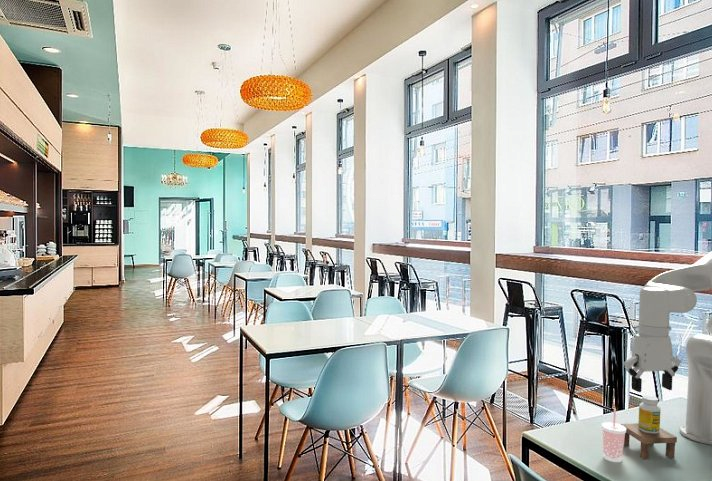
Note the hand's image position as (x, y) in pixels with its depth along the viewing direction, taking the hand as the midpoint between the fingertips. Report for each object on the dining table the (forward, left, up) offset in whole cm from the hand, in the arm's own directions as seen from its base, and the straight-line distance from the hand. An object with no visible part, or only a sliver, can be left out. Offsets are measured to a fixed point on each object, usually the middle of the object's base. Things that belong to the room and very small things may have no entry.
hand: (651, 389), depth 146 cm
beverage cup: (+14, +3, -18) cm, 23 cm away
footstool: (+1, 0, -18) cm, 18 cm away
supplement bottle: (0, 0, -12) cm, 12 cm away
